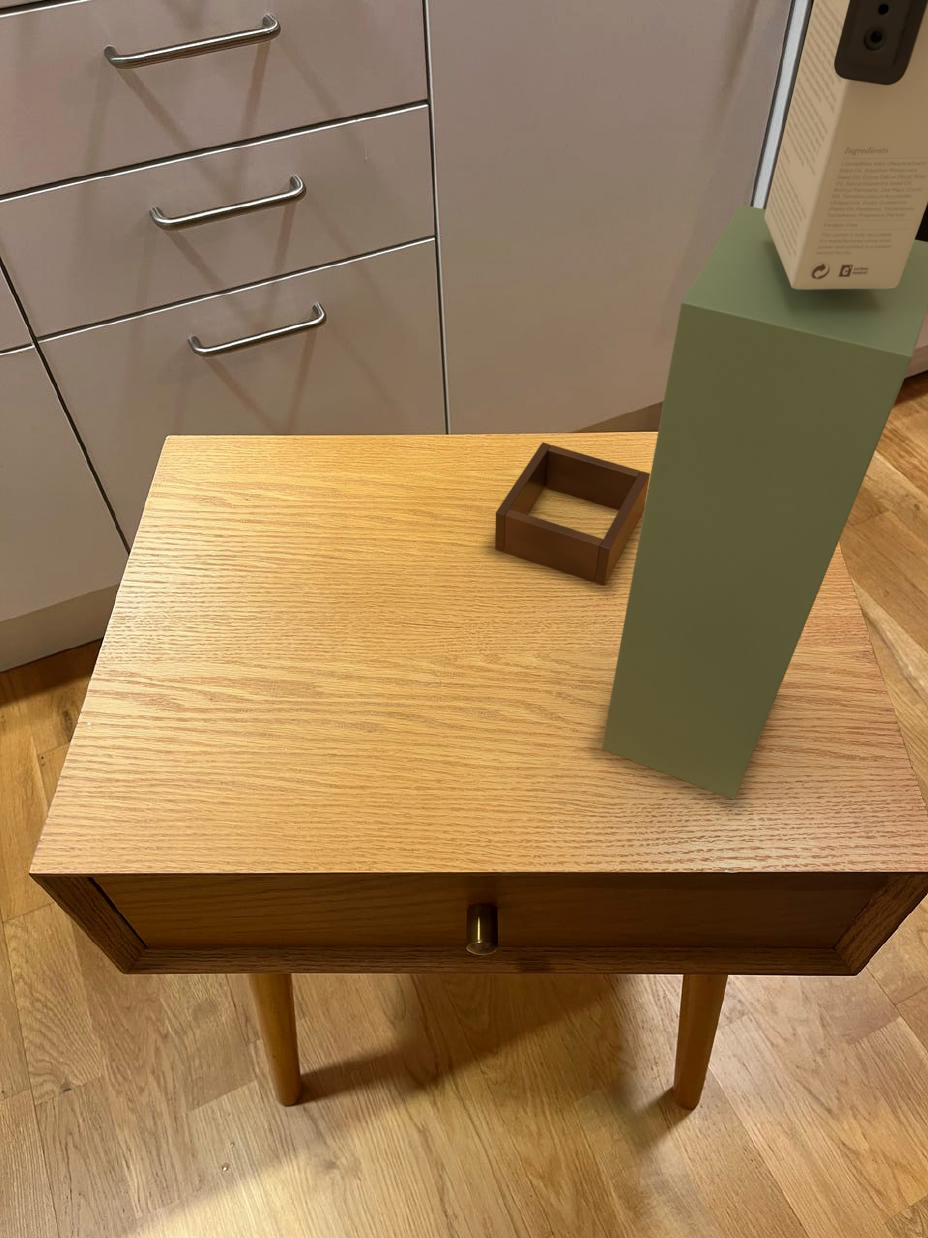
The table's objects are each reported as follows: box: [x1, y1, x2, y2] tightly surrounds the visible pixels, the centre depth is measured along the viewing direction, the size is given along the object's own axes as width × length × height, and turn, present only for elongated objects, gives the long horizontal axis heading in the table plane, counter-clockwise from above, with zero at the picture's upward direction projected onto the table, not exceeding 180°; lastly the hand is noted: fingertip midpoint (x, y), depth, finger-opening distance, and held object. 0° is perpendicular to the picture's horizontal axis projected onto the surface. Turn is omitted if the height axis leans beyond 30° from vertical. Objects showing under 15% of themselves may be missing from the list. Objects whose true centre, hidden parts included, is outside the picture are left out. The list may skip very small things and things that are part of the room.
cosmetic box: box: [764, 0, 928, 290], centre depth 35 cm, size 6×4×12 cm
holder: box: [494, 441, 651, 586], centre depth 76 cm, size 9×9×4 cm
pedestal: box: [601, 204, 928, 800], centre depth 52 cm, size 9×9×33 cm
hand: (888, 37), depth 33 cm, fingers closed on cosmetic box, 7 cm apart
